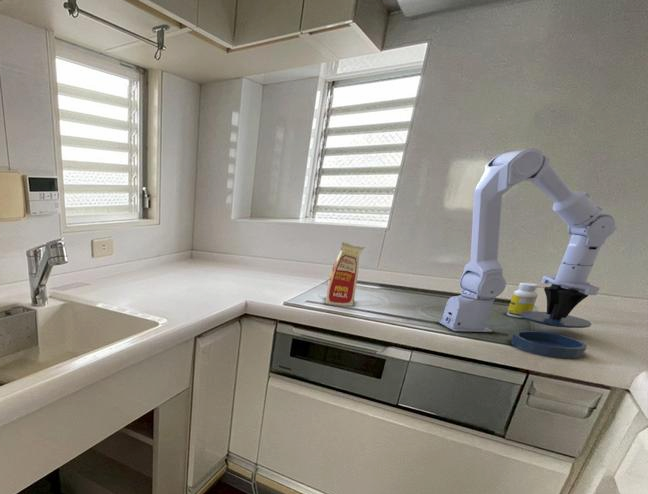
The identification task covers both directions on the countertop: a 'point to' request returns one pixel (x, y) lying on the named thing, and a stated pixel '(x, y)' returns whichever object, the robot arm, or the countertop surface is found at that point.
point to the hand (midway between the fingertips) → (556, 315)
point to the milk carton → (344, 276)
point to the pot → (549, 344)
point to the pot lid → (555, 319)
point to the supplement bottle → (522, 300)
